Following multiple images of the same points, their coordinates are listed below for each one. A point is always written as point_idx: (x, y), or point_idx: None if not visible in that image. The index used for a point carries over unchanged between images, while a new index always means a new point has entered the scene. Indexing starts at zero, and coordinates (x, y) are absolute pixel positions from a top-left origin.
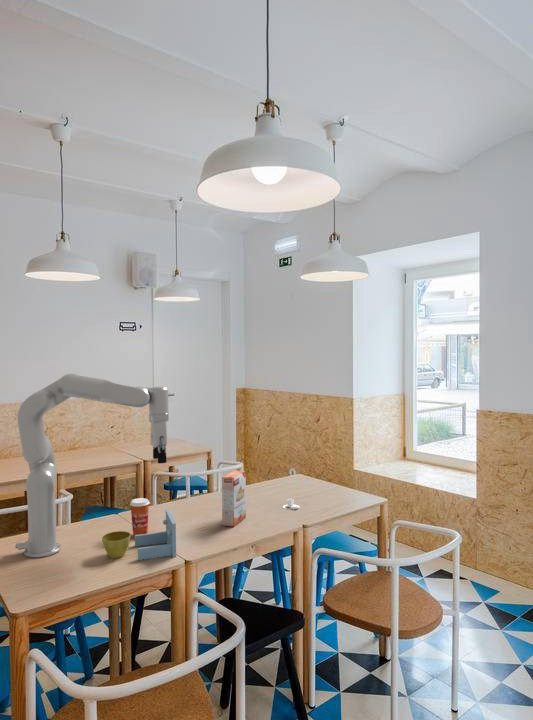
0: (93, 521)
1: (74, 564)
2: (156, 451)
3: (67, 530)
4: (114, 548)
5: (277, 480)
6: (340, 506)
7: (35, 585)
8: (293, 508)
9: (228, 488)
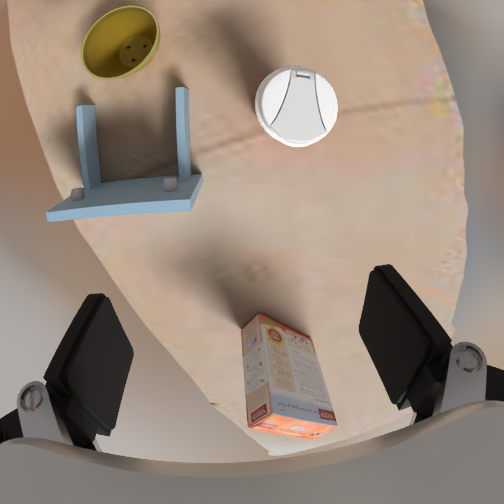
0: (424, 34)
1: None
2: (400, 353)
3: None
4: (95, 47)
5: None
6: (274, 436)
7: None
8: None
9: (255, 395)
